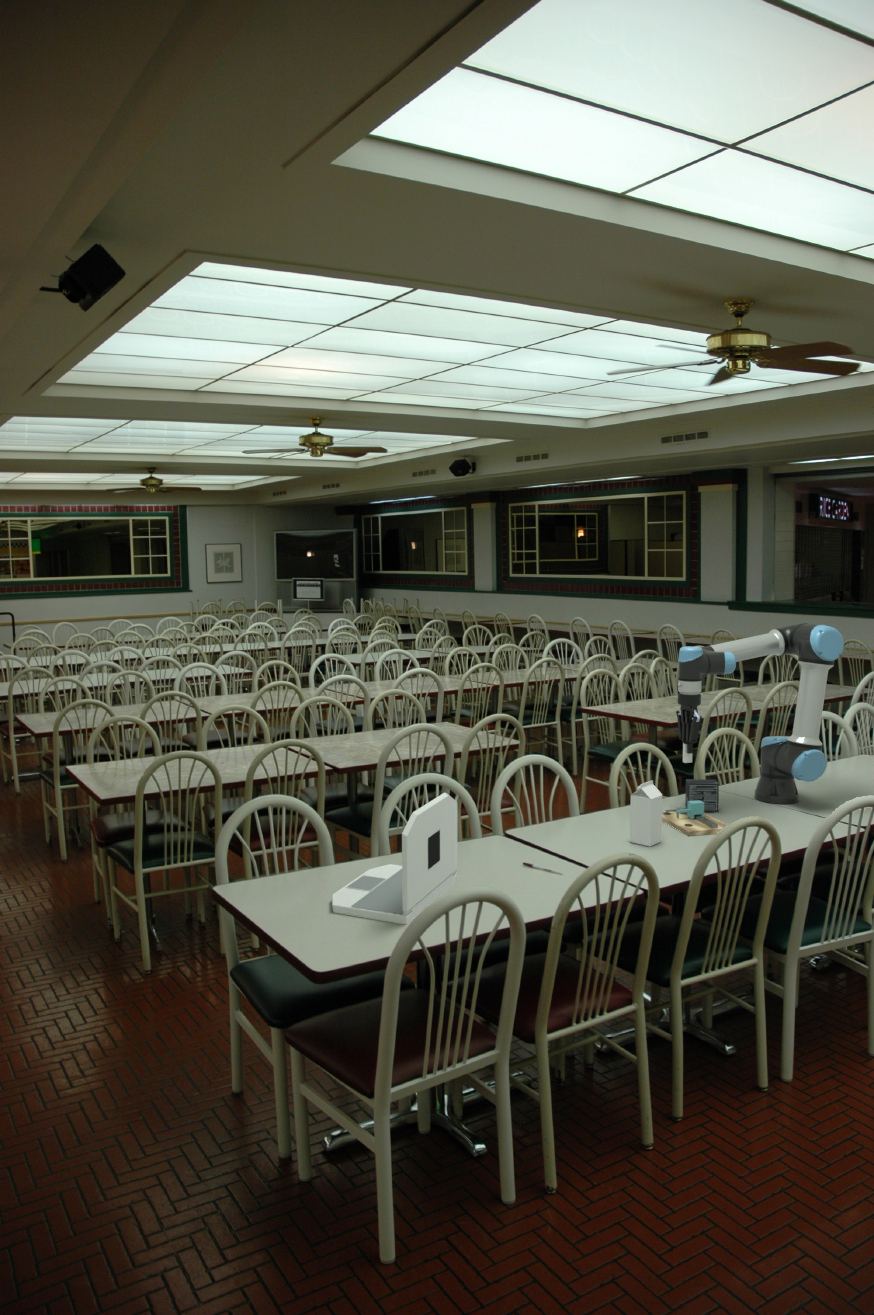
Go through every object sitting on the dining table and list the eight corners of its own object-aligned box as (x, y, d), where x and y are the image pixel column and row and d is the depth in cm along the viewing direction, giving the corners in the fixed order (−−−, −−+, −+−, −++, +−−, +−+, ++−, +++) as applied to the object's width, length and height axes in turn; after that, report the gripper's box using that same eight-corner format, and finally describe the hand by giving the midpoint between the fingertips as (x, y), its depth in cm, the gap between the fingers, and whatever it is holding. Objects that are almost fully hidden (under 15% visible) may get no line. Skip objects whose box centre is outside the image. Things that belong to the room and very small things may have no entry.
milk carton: (661, 842, 288) (663, 782, 286) (649, 847, 283) (651, 786, 281) (641, 837, 293) (642, 778, 291) (629, 842, 287) (630, 782, 285)
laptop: (378, 870, 264) (377, 779, 261) (458, 881, 255) (457, 787, 252) (320, 912, 233) (318, 809, 231) (407, 926, 224) (406, 819, 221)
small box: (715, 808, 326) (716, 778, 325) (719, 813, 320) (719, 783, 319) (684, 807, 327) (685, 778, 326) (687, 812, 321) (688, 782, 320)
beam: (688, 810, 317) (688, 806, 317) (721, 827, 298) (721, 823, 297) (663, 812, 315) (664, 808, 315) (695, 830, 295) (695, 825, 295)
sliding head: (699, 815, 310) (699, 800, 310) (703, 818, 308) (704, 802, 307) (674, 817, 308) (674, 802, 308) (678, 820, 305) (679, 804, 305)
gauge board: (697, 813, 319) (697, 809, 319) (733, 832, 298) (733, 827, 297) (655, 817, 315) (655, 812, 315) (688, 836, 294) (688, 831, 293)
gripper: (669, 690, 315) (667, 758, 318) (689, 696, 303) (687, 767, 305) (689, 689, 317) (687, 757, 320) (709, 695, 304) (707, 765, 307)
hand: (687, 762), depth 312 cm, fingers closed
